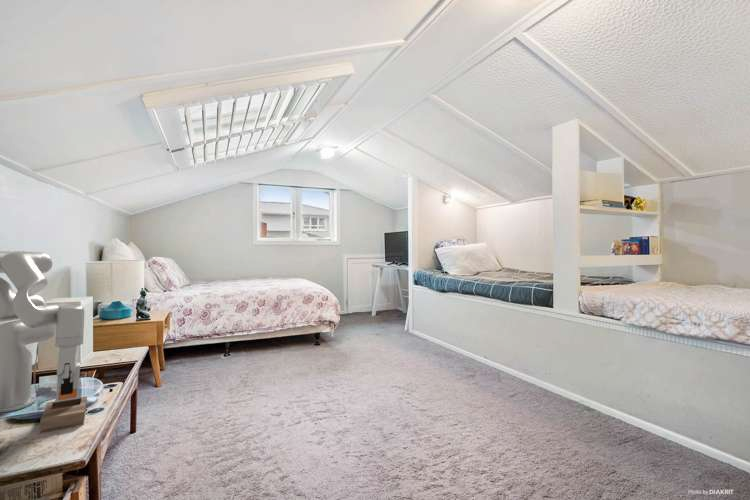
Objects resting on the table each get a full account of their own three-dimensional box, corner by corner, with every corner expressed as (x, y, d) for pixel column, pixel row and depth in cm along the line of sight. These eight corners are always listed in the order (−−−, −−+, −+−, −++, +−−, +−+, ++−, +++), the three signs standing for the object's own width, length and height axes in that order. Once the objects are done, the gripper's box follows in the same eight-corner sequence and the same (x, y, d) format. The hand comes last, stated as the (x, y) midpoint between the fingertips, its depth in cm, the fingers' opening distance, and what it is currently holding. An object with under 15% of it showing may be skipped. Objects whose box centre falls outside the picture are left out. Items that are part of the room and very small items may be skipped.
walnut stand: (46, 415, 125) (47, 402, 125) (86, 408, 132) (86, 396, 132) (39, 433, 114) (40, 419, 114) (83, 424, 121) (84, 411, 121)
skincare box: (55, 402, 122) (57, 368, 122) (56, 398, 125) (57, 365, 125) (78, 398, 126) (80, 365, 126) (78, 394, 129) (80, 362, 129)
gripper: (58, 336, 130) (56, 385, 130) (52, 348, 116) (49, 402, 116) (84, 334, 134) (82, 381, 134) (81, 345, 121) (79, 397, 121)
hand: (67, 390), depth 125 cm, fingers closed on skincare box, 4 cm apart
